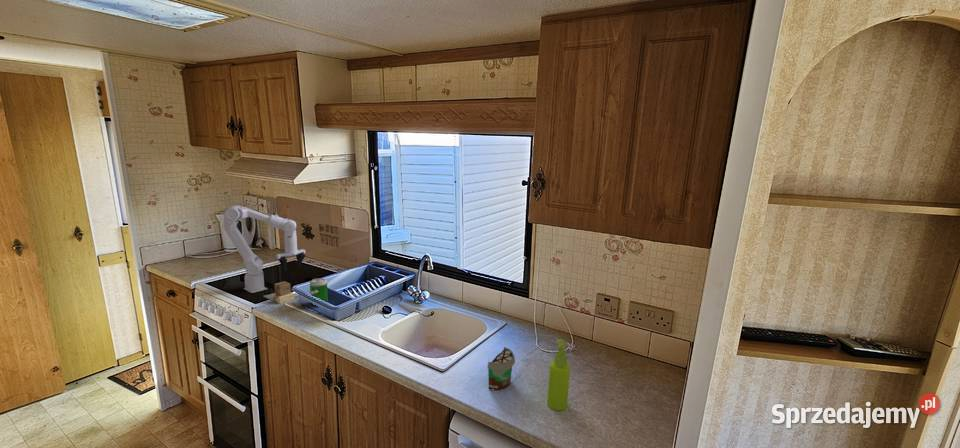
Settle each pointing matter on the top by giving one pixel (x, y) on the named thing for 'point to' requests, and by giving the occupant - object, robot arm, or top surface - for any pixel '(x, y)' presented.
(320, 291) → the soda can
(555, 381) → the soap dispenser
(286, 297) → the pedestal
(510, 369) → the food container
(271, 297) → the rubber mat
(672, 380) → the top surface
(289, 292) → the walnut cube
